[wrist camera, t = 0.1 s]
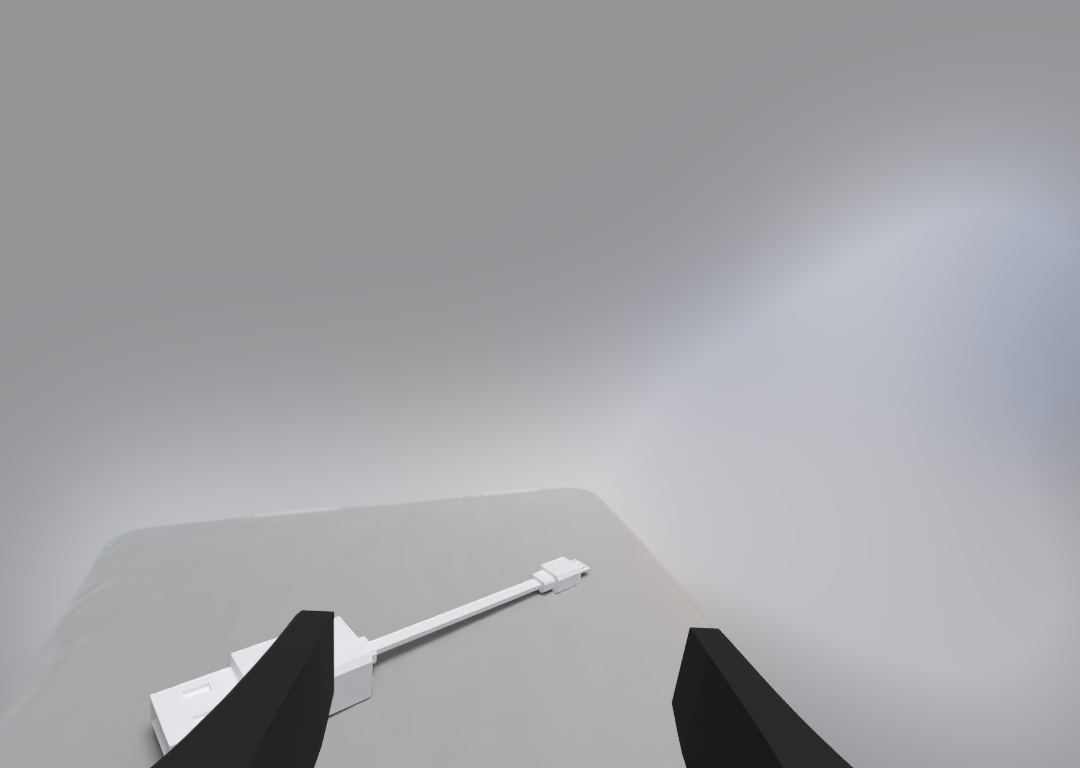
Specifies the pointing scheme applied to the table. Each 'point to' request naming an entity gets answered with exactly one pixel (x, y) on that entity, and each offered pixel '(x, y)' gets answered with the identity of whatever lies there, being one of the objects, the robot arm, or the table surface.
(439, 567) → the table surface
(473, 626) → the table surface
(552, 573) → the charging cable
